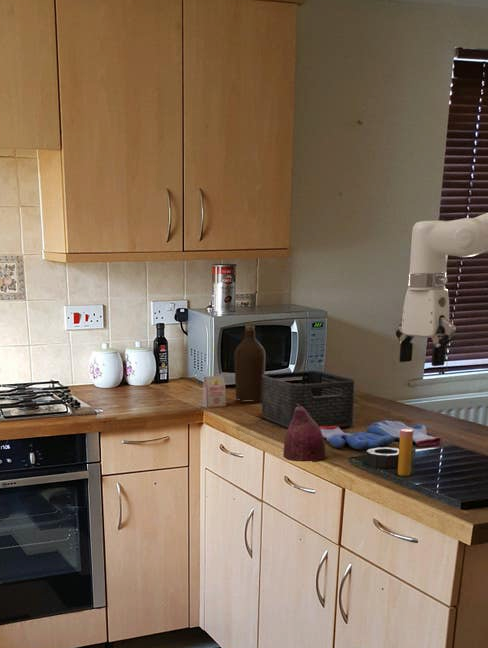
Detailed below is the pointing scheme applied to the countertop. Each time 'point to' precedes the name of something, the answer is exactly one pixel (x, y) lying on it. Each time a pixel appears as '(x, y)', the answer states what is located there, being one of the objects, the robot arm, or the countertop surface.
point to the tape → (382, 457)
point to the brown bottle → (249, 368)
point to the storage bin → (308, 398)
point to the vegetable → (303, 438)
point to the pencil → (405, 452)
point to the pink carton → (214, 391)
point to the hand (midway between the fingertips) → (421, 363)
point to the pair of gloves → (377, 435)
